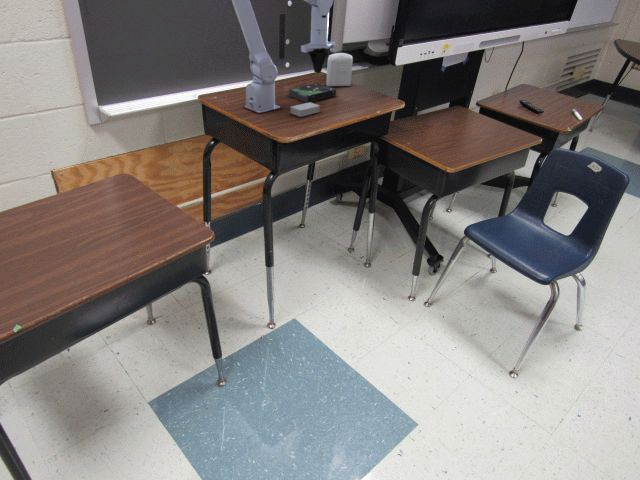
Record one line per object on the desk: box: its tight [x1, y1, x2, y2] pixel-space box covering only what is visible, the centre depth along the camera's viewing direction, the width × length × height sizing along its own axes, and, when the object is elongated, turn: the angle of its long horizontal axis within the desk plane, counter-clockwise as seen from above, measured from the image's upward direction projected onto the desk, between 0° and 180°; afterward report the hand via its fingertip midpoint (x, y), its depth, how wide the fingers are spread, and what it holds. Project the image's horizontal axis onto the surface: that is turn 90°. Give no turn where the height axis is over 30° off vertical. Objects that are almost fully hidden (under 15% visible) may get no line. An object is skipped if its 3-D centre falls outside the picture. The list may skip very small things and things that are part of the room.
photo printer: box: [325, 52, 354, 87], centre depth 179 cm, size 10×4×12 cm, turn 109°
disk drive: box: [288, 83, 337, 103], centre depth 167 cm, size 10×3×15 cm
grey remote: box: [290, 101, 321, 118], centre depth 151 cm, size 2×5×9 cm
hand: (317, 72), depth 157 cm, fingers closed
